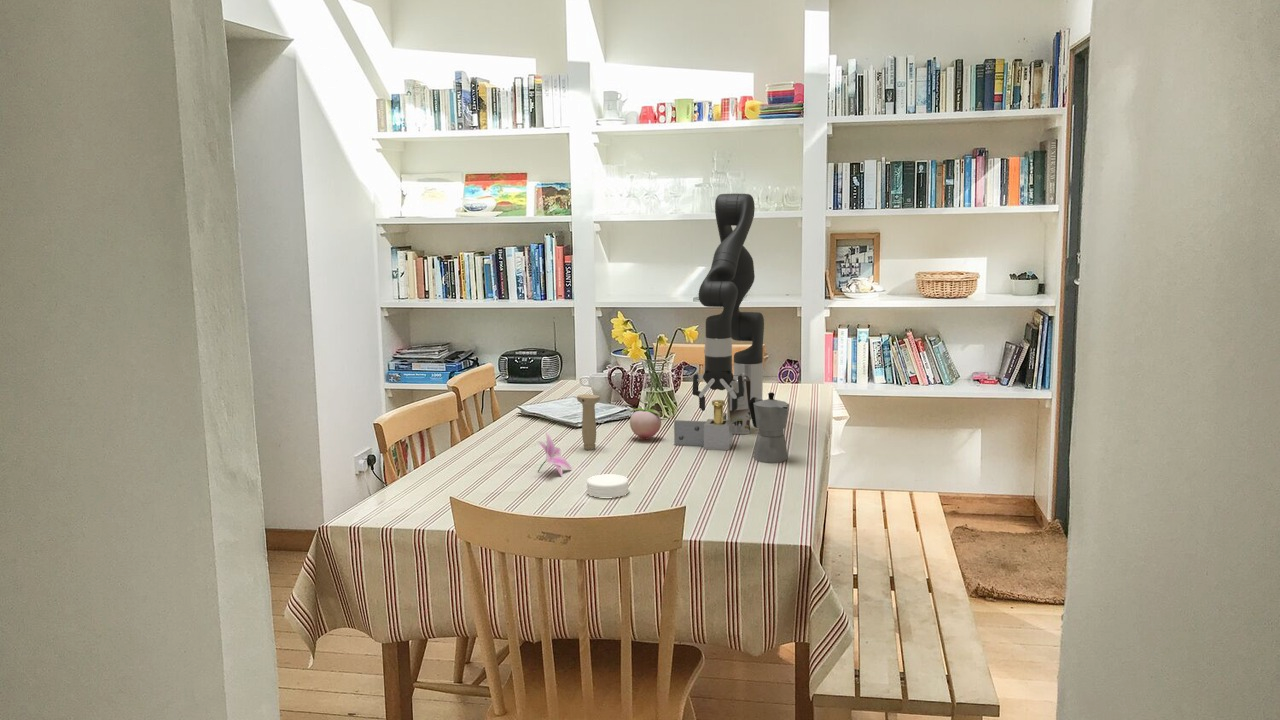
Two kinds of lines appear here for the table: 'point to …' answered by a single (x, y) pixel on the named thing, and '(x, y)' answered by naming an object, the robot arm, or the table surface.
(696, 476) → the table surface
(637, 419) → the decorative fruit
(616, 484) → the white round disc
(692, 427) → the grey corner bracket
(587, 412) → the handle
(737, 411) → the coffee box
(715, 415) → the hinge pin
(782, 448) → the coffeepot
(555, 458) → the lily
